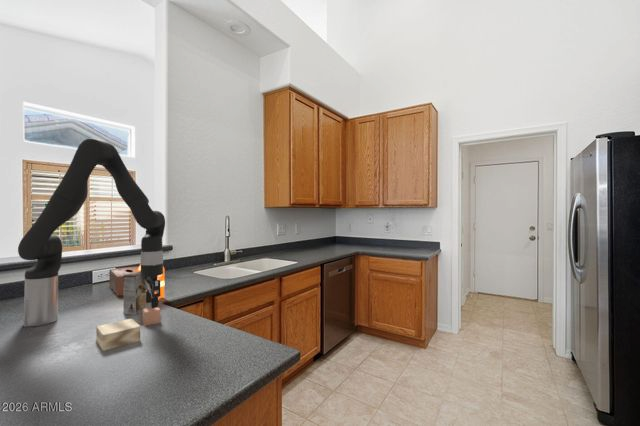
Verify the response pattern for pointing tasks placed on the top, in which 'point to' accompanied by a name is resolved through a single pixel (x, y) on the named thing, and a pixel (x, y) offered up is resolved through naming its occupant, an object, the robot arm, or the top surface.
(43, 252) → the robot arm
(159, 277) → the orange juice
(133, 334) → the birch block
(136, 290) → the coffee box
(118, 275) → the tissue box cover
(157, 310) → the terracotta cube
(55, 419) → the top surface
